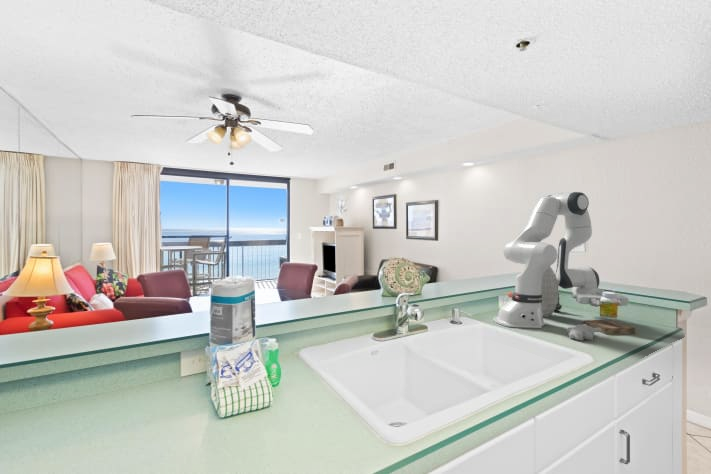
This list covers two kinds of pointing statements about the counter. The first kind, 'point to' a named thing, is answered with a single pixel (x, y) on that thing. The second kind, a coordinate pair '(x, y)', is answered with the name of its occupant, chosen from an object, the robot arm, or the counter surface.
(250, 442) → the counter surface
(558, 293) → the salt shaker
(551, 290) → the vase
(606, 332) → the walnut base
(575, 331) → the bunny figurine
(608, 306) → the supplement bottle
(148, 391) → the counter surface
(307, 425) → the counter surface
